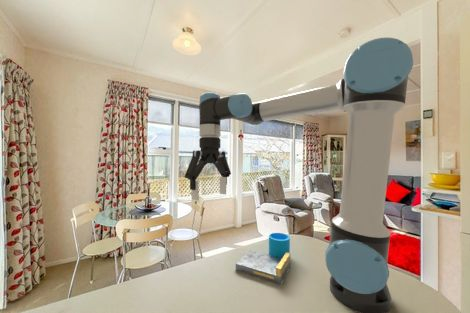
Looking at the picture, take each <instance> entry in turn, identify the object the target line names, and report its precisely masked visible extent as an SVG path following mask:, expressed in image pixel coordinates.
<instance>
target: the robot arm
mask: <svg viewBox="0 0 470 313" xmlns="http://www.w3.org/2000/svg"><path fill="white" fill-rule="evenodd" d="M413 57H414V56H413V52H412V49H411V47H410V46H409V45H408V44H407V43H404V41H402V40H400V39H398V38H394V37H379V38H374V39H371V40H369V41H366V42H365V43H362V44H361V45H359V46H358V47H357V48H356V49H355V50H354V51H353V52H352V53H350V55H349V56H348V58H347V60H346V62H345V64H344V68H343V74H342V75H343V78H342V79H340V80H339V82H337V83H336V84H332V85H331V84H330V85H327V86H322V87H317V88H313V89H309V90H305V91H300V92H295V93H291V94H287V95H282V96H278V97H274V98H270V99H264V100H260V101H256V102H252V101H253V100H252V99H251V97H250V95H249V94H247V93H243V92H242V93H234V94H231V95H227V96H226V95H225V96H221V95H220V94H218V93H216V92H204V93H201V95H200V97H199V106H198V108H199V111H198V113H199V137H200V138H199V139H198V140H199V141H198V142H199V149H197V150H196V149H195V150H193V151H192V157H191V159H190V162H189V165H188V167H187V170H186V172H185V175H184V178H185V179H187V180H189V189H190V190H191V200H195V201H199V197H200V196H199V192H200V189H199V185H200V184H199V180H198V177H199V176H200V174H201V173H202V171H203V170H204V168H205V166H206V165H207V164H213V165H214V167H215V168H216V169H217V171H218V173H219V175H220V176H219V194H220V195H227V184H228V178H229V177H230V175H231V174H232V173H231V169H230V166H229V163H228V159H227V157H226V151H224V150H223V151H222V150H221V151H220V150H219V149H221V138H220V137H221V121H223V120H230V119H232V120H237V121H241V122H242V123H243V122H244V123H247V124H249V125H254V126H258V125H260V124H263V122H268V121H270V122H271V121H275V120H282V119H288V118H293V117H300V116H301V117H302V116H305V115H311V114H318V113H323V112H324V113H325V112H330V111H335V110H340V111H342V112H343V113H347V114H348V116H349V117H348V127H347V138H346V145H345V157H344V167H343V176H342V184H341V185H342V186H341V196H340V206H339V213H338V214H337V215H336V216H333V218H332V219H331V224H330V225H331V226H330V232H329V233H330V235H329V243H328V246H327V248H326V250H325V265H326V268H327V270H328V272H329V274H330V277H329V278H330V279H329V289H330V291H331V292H330V293H332V295H333V296H334V297H335V298H336V299H337V300H338V301H339V302H340V303H342V304H344V305H345V306H347V307H350V308H352V309H354V310H357V311H359V312H362V313H387V312H389V311H390V310H391V308H392V295H391V292H390V290H389V286H388V284H387V283H388V279H389V277H390V270H389V265H388V258H389V248H390V241H391V240H390V238H391V231H390V230H389V229H388V228H387V226H385V224H384V213H385V204H386V196H387V195H386V194H387V185H388V178H389V168H390V162H391V161H390V160H391V151H392V142H393V132H394V123H395V115H397V113H399V112H400V111H401V110H402V109H404V108H405V107H406V106H405V105H406V98H407V97H406V96H407V90H408V81H409V75H410V73H411V71H412V69H413V66H414V58H413Z"/></svg>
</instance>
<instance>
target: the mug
mask: <svg viewBox="0 0 470 313" xmlns="http://www.w3.org/2000/svg"><path fill="white" fill-rule="evenodd" d="M290 237H291V236H290V235H288V234H286V233H284V232H283V233H282V232H272V233H270V234H268V255H272V256H276V257H280V258H283V256H284V255H285V253H286V252H287V253H290V254H291V252H290V251H291V250H290V249H291V238H290Z"/></svg>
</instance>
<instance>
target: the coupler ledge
mask: <svg viewBox="0 0 470 313" xmlns="http://www.w3.org/2000/svg"><path fill="white" fill-rule="evenodd" d="M290 269H291V252H290V253H287V252H286V253H285V255H284V256H283V258H280V257H276V256H272V255H269V253H268V254H267V253H263V252H259V251H256V250H251V249H249V250H248V252H246V253H245V254H244V255H243V256H241V258H240V259H239V260H238V261H237V262H236V263H235V271H236V272H238V273H242V274H246V275H249V276H251V277H254V278H257V279H261V280H263V281H268V282H270V283H273V284H277V285H279V286H281V285H282V283H283V282H284V279H285V278H286V276H287V274H288V273H289V270H290Z"/></svg>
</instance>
